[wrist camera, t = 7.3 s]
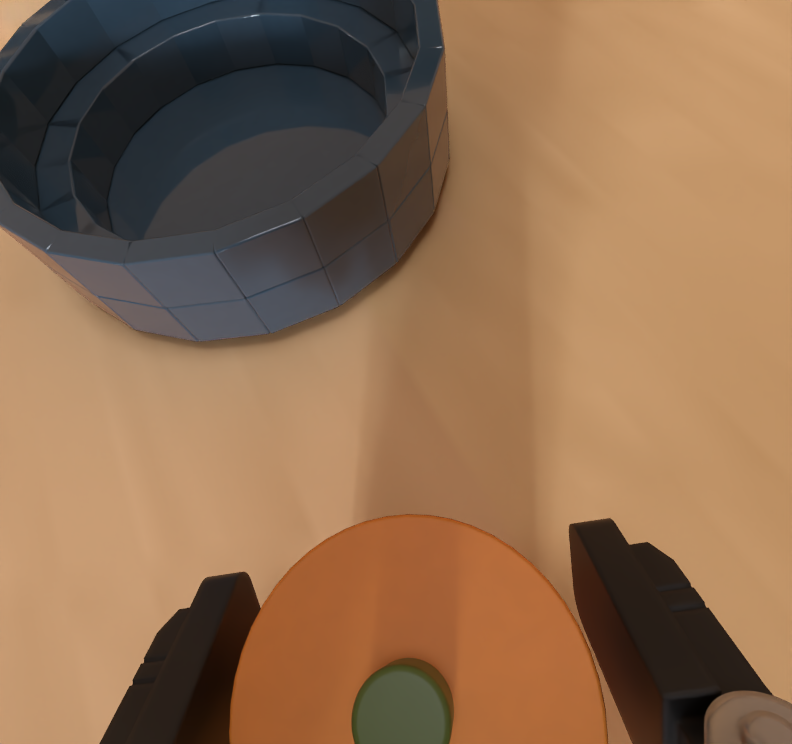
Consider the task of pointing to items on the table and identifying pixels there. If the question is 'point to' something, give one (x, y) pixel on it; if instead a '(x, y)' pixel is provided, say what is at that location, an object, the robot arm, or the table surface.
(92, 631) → the table surface
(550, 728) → the squash
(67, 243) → the bowl
